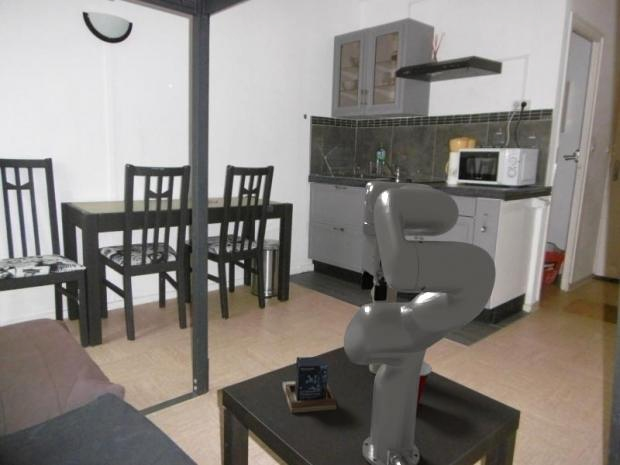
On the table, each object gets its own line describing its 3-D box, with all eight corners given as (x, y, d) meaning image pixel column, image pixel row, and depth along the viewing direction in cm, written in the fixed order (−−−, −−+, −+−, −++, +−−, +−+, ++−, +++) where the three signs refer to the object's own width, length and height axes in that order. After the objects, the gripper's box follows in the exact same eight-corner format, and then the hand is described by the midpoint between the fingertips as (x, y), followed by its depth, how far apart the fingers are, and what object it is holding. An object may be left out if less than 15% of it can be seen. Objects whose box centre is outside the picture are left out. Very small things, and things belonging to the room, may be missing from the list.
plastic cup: (429, 418, 116) (433, 375, 114) (387, 412, 118) (390, 369, 116) (427, 397, 126) (431, 357, 124) (388, 392, 128) (391, 352, 126)
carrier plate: (336, 409, 118) (336, 394, 118) (291, 412, 116) (291, 398, 115) (322, 382, 132) (323, 369, 132) (282, 385, 130) (282, 372, 129)
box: (297, 403, 118) (298, 366, 116) (294, 392, 124) (296, 356, 122) (326, 402, 119) (328, 365, 118) (322, 391, 125) (324, 355, 123)
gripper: (405, 236, 107) (400, 304, 110) (378, 225, 124) (374, 285, 127) (375, 235, 106) (371, 305, 108) (352, 224, 122) (349, 285, 125)
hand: (373, 294), depth 118 cm, fingers open, 9 cm apart
